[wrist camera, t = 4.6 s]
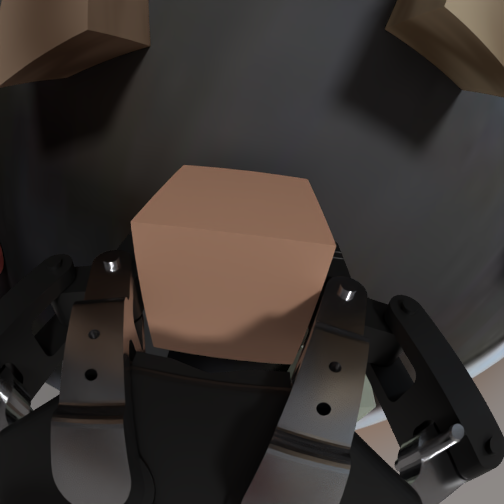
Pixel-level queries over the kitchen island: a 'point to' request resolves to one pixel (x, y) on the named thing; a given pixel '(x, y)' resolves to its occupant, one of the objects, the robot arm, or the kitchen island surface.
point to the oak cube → (456, 39)
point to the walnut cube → (67, 36)
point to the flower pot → (1, 260)
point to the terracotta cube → (231, 263)
